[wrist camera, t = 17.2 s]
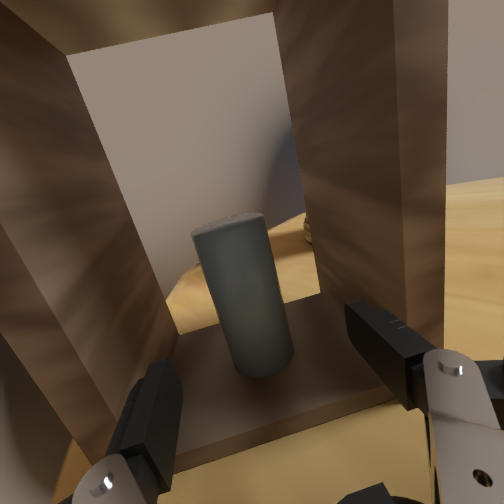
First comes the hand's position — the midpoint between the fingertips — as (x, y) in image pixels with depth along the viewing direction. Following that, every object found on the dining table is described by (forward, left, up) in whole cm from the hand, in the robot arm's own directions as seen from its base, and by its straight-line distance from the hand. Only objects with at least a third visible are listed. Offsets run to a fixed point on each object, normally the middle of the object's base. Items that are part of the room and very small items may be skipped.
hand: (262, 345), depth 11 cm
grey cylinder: (-3, -8, -8) cm, 12 cm away
